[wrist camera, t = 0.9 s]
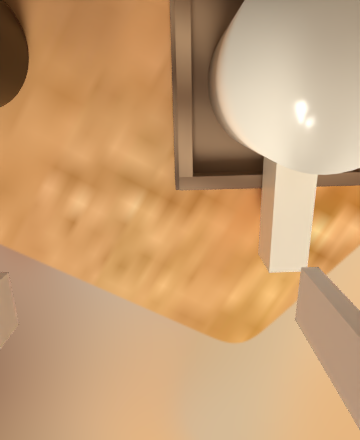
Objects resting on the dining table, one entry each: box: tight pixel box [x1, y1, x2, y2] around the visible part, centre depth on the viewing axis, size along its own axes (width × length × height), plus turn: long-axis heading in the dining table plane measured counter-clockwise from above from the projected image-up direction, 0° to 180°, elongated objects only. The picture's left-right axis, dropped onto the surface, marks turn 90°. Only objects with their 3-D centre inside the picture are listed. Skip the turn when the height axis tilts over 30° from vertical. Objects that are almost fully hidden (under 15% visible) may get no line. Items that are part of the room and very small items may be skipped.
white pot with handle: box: [208, 0, 360, 273], centre depth 20 cm, size 18×10×9 cm, turn 2°
